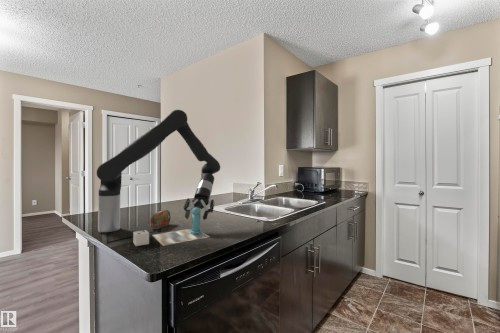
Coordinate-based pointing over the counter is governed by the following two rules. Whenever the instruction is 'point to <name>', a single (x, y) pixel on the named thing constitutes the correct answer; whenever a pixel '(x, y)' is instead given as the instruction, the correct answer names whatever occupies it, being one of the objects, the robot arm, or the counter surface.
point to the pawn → (196, 221)
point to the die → (141, 237)
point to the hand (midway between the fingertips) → (195, 218)
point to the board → (177, 237)
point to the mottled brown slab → (160, 219)
